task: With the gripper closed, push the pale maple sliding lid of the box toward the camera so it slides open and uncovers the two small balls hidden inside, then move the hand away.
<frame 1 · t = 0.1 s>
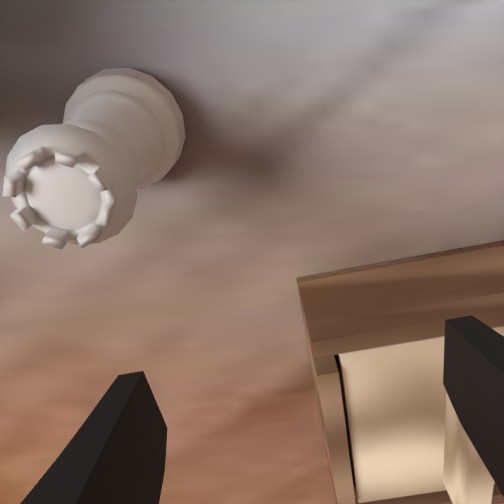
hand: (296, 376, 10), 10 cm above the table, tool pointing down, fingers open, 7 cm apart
lid: (465, 439, 19), point 5 cm above the table, slide at 0.0 cm
box: (411, 357, 24), on the table
rook chess piece: (131, 125, 17), on the table
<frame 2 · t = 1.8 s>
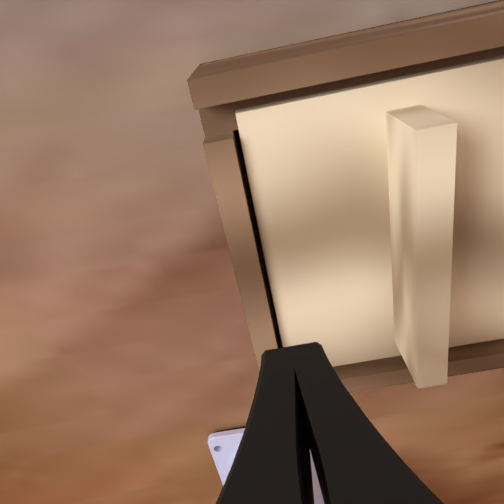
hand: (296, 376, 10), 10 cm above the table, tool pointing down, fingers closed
lid: (415, 253, 14), point 5 cm above the table, slide at 0.0 cm
box: (359, 197, 19), on the table
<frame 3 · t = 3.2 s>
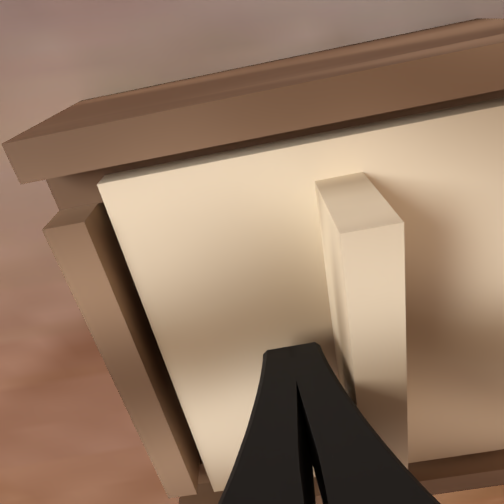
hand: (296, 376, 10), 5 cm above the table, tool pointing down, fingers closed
lid: (363, 368, 10), point 5 cm above the table, slide at 0.2 cm, touching gripper
box: (304, 262, 15), on the table
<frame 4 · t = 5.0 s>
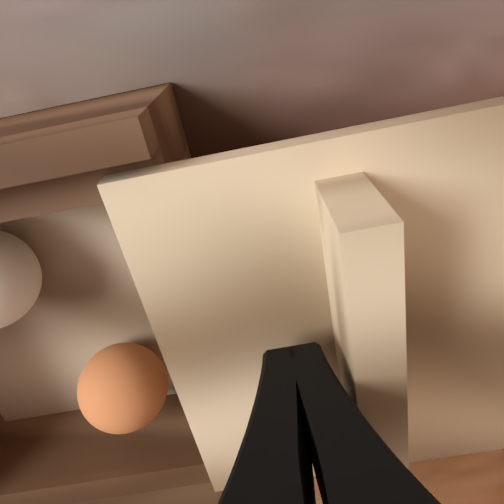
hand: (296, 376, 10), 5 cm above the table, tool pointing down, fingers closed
lid: (363, 367, 10), point 5 cm above the table, slide at 8.6 cm, touching gripper
box: (72, 304, 15), on the table
ball a: (132, 356, 16), resting on box
ball b: (8, 254, 14), resting on box
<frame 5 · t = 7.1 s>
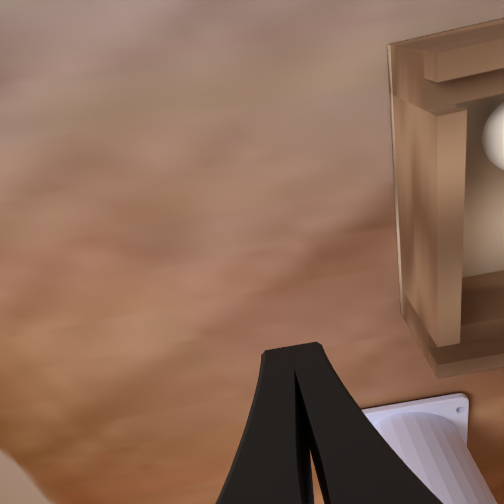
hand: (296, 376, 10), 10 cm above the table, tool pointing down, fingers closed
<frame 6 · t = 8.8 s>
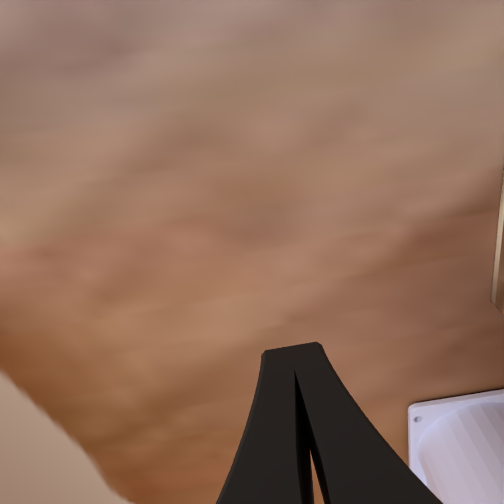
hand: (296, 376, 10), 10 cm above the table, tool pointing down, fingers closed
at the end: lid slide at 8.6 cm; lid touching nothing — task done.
